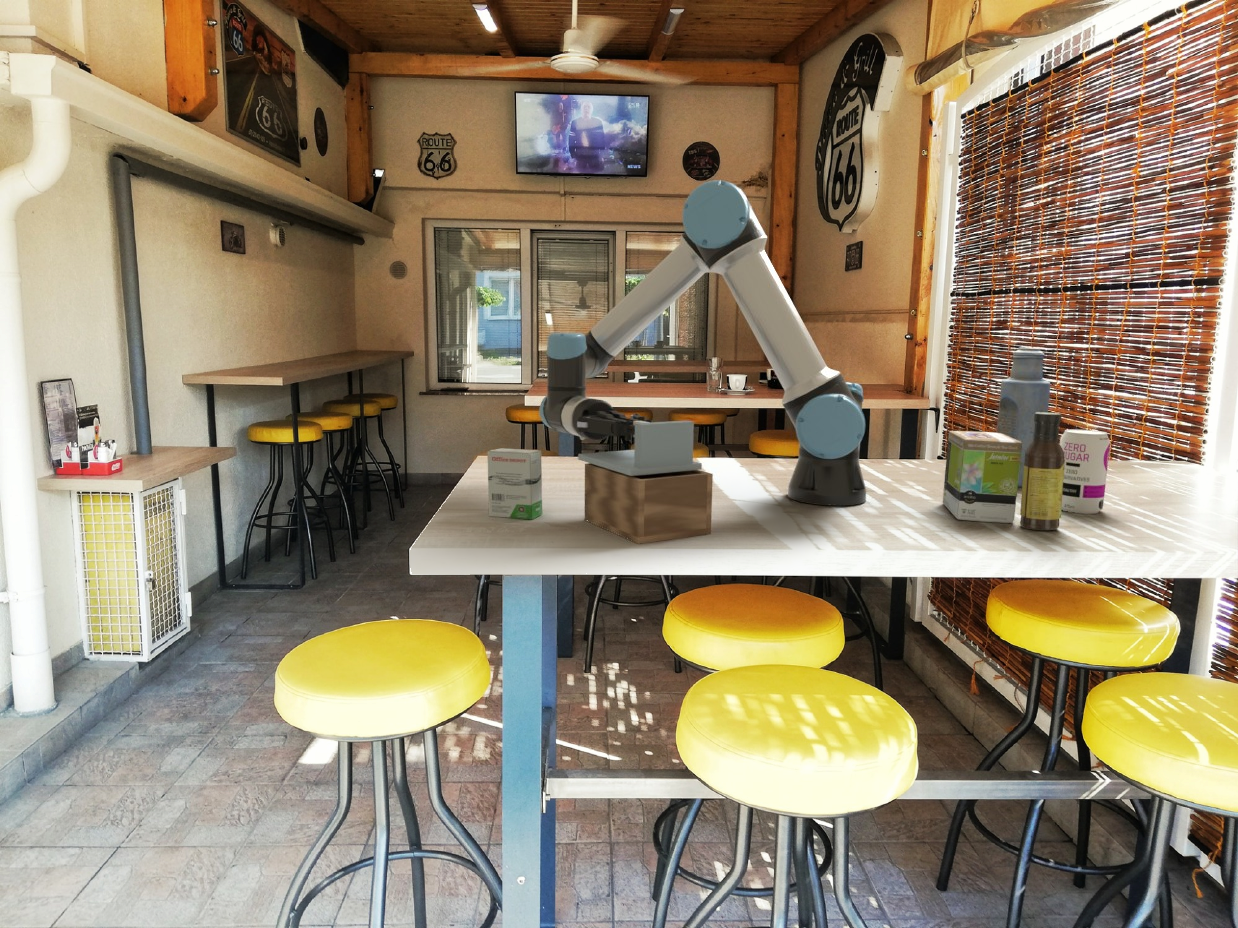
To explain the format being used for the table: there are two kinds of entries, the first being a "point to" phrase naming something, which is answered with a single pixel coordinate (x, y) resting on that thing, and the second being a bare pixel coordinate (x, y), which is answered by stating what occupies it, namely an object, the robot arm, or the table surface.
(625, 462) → the lid
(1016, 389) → the bottle
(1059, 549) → the table surface
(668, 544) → the table surface
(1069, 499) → the supplement can
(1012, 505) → the tea box
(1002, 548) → the table surface
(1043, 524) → the sauce bottle
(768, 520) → the table surface
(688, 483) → the crate
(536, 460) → the ink box
